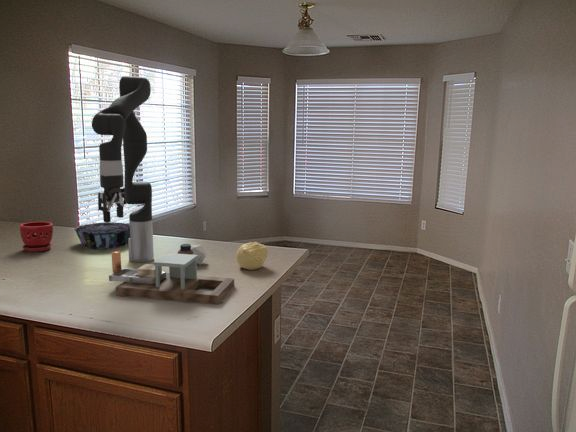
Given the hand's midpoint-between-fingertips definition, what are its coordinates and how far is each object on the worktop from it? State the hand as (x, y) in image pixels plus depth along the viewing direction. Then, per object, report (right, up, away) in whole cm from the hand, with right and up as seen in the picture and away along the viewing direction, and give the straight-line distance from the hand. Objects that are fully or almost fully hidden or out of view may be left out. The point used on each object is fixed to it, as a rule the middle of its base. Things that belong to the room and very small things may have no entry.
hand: (113, 219), depth 166 cm
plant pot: (-53, -14, +51) cm, 74 cm away
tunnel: (+22, -22, 0) cm, 31 cm away
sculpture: (+46, -20, +29) cm, 58 cm away
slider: (+7, -21, +2) cm, 22 cm away
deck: (+22, -25, 0) cm, 33 cm away
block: (+12, -21, +1) cm, 25 cm away
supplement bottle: (+21, -21, +20) cm, 36 cm away
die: (+22, -19, +33) cm, 44 cm away
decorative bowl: (-27, -13, +62) cm, 69 cm away
